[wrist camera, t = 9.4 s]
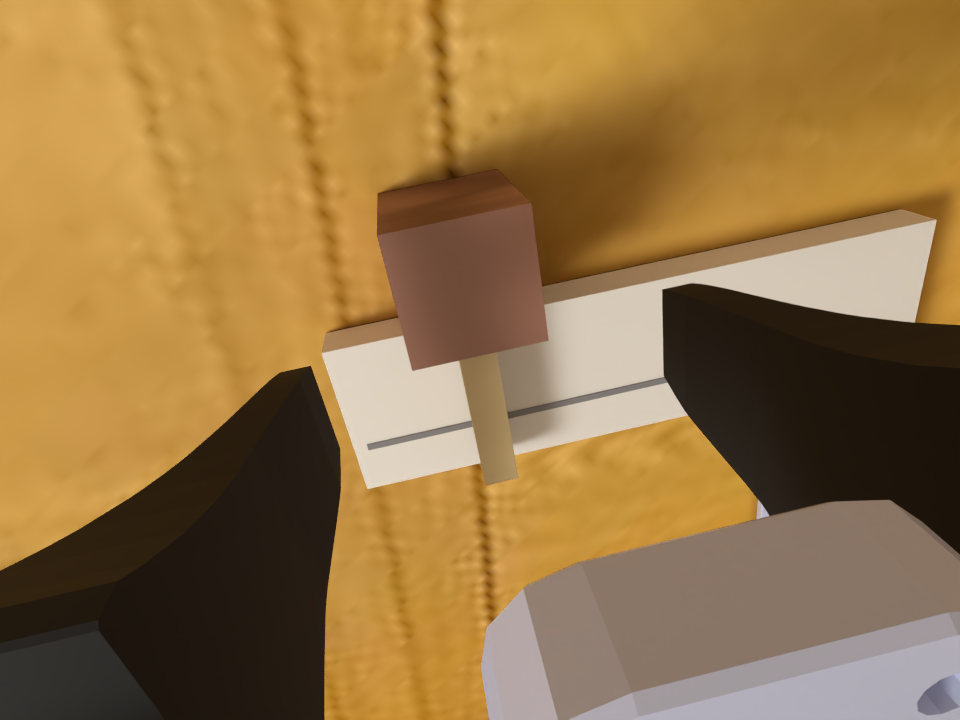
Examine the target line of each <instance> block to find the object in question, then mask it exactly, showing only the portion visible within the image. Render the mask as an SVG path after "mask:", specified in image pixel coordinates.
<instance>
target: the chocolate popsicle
mask: <svg viewBox="0 0 960 720" xmlns="http://www.w3.org/2000/svg"><path fill="white" fill-rule="evenodd" d="M377 237H378V241H379V245H380V249H381V253H382V256H383V260H384V264H385V268H386V272H387V276H388V280H389V283H390V287H391V291H392V295H393V299H394V303H395V306H396V310H397V314H398V318H399V322H400V326H401V329H402V333H403V337H404V341H405V345H406V349H407V353H408V356H409V360H410V364H411V368H412V371H415V370H419V369H424V368H428V367H433V366H437V365H442V364H446V363H451V362H455V361H459V365H460V369H461V374H462V379H463V383H464V388H465V393H466V397H467V402H468V407H469V411H470V416H471V421H472V426H473V430H474V435H475V440H476V444H477V449H478V454H479V458H480V463H481V467H482V471H483V476H484V480H485V484H486V485H491V484H495V483H499V482H503V481H508V480H512V479H516V478H519V477H518V472H517V466H516V460H515V455H514V449H513V443H512V438H511V432H510V426H509V420H508V415H507V409H506V403H505V398H504V392H503V386H502V381H501V375H500V369H499V364H498V358H497V352H500V351H505V350H509V349H514V348H518V347H523V346H527V345H532V344H536V343H541V342H545V341H549V339H548V331H547V323H546V315H545V307H544V299H543V291H542V283H541V275H540V267H539V259H538V251H537V243H536V235H535V227H534V219H533V211H532V203H531V202H530V201H529V200H528V199H527V198H526V197H525V196H524V195H523V194H522V193H521V192H520V191H519V190H518V189H517V188H516V187H515V186H514V185H513V184H512V183H511V182H510V181H509V180H508V179H507V178H506V177H505V176H504V175H503V174H502V173H501V172H500V171H499V170H498V169H495V170H490V171H485V172H481V173H476V174H471V175H466V176H461V177H456V178H451V179H446V180H442V181H437V182H432V183H427V184H422V185H417V186H412V187H407V188H403V189H398V190H393V191H388V192H383V193H378V205H377Z"/></svg>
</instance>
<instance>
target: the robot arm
mask: <svg viewBox="0 0 960 720" xmlns="http://www.w3.org/2000/svg"><path fill="white" fill-rule="evenodd" d="M662 315H663V372H664V377H665V379H666V381H667V382H668V384H669V386H670V388H671V389H672V391H673V393H674V395H675V396H676V398H677V399H678V401H679V403H680V404H681V406H682V407H683V409H684V411H685V412H686V413H687V414H688V416H689V417H690V418H691V419H692V421H693V422H694V423H695V424H696V425H697V427H698V428H699V429H700V430H701V431H702V433H703V434H704V435H705V436H706V437H707V439H708V440H709V441H710V442H711V443H712V445H713V446H714V447H715V448H716V449H717V450H718V452H719V453H720V454H721V455H722V456H723V457H724V459H725V460H726V461H727V462H728V463H729V465H730V466H731V467H732V468H733V469H734V470H735V472H736V473H737V474H738V475H739V476H740V477H741V479H742V480H743V481H744V482H745V483H746V485H747V486H748V487H749V488H750V490H751V491H752V492H753V493H754V495H755V496H756V497H757V499H758V506H757V518H756V519H755V520H751V521H747V522H743V523H739V524H735V525H730V526H726V527H722V528H718V529H714V530H710V531H705V532H701V533H697V534H693V535H689V536H685V537H681V538H676V539H672V540H668V541H664V542H660V543H656V544H651V545H647V546H643V547H639V548H635V549H631V550H627V551H622V552H618V553H614V554H610V555H606V556H602V557H597V558H593V559H589V560H585V561H581V562H577V563H575V564H573V565H571V566H568V567H566V568H564V569H562V570H559V571H557V572H555V573H553V574H550V575H548V576H546V577H544V578H541V579H539V580H537V581H535V582H532V583H530V584H528V585H527V586H526V587H524V588H523V589H522V590H521V591H520V593H519V594H518V595H517V596H516V597H515V598H514V599H513V600H512V601H511V602H510V603H509V604H508V606H507V607H506V608H505V609H504V610H503V611H502V612H501V613H500V614H499V615H498V616H497V617H496V619H495V620H494V621H493V622H492V623H491V624H490V625H489V626H488V627H487V629H486V636H485V643H484V650H483V657H482V664H481V671H482V678H483V684H484V690H485V696H486V702H487V709H488V715H489V720H960V325H945V324H927V323H915V322H903V321H894V320H886V319H878V318H869V317H861V316H855V315H848V314H842V313H836V312H831V311H825V310H820V309H815V308H809V307H804V306H800V305H795V304H790V303H786V302H781V301H777V300H773V299H768V298H764V297H760V296H756V295H751V294H747V293H743V292H739V291H734V290H730V289H726V288H721V287H716V286H711V285H705V284H696V283H689V284H685V285H680V286H676V287H671V288H666V289H662ZM340 491H341V466H340V447H339V444H338V441H337V439H336V436H335V433H334V430H333V427H332V425H331V422H330V419H329V416H328V413H327V410H326V408H325V405H324V402H323V399H322V396H321V393H320V391H319V388H318V385H317V382H316V379H315V377H314V374H313V371H312V368H311V366H308V367H304V368H299V369H294V370H290V371H285V372H281V373H279V374H278V375H276V376H275V377H273V378H272V379H271V380H270V381H269V382H268V383H267V384H265V385H264V386H263V387H262V388H261V389H260V390H259V391H258V392H257V393H256V394H255V395H254V396H253V397H252V398H251V399H250V400H249V401H248V402H247V403H245V404H244V405H243V406H242V407H241V408H240V409H239V410H238V411H237V412H236V413H235V414H234V415H233V416H232V417H231V418H230V419H229V420H228V421H227V422H226V423H224V424H223V425H222V426H221V427H220V428H219V429H218V430H217V431H215V432H214V433H213V434H212V435H211V436H210V437H209V438H207V439H206V440H205V441H204V442H203V443H202V444H201V445H199V446H198V447H197V448H196V449H195V450H194V451H192V452H191V453H190V454H189V455H188V456H187V457H185V458H184V459H183V460H182V461H180V462H179V463H178V464H177V465H175V466H174V467H173V468H171V469H170V470H169V471H167V472H166V473H165V474H163V475H162V476H161V477H159V478H158V479H156V480H155V481H154V482H152V483H151V484H150V485H148V486H147V487H145V488H144V489H143V490H141V491H140V492H138V493H137V494H135V495H134V496H132V497H131V498H129V499H127V500H126V501H124V502H123V503H121V504H119V505H118V506H116V507H115V508H113V509H111V510H110V511H108V512H106V513H105V514H103V515H102V516H100V517H98V518H97V519H95V520H94V521H92V522H90V523H89V524H87V525H86V526H84V527H82V528H81V529H79V530H77V531H75V532H74V533H72V534H70V535H68V536H66V537H64V538H63V539H61V540H59V541H57V542H55V543H54V544H52V545H50V546H48V547H46V548H44V549H42V550H40V551H38V552H36V553H35V554H33V555H31V556H29V557H27V558H25V559H23V560H21V561H19V562H17V563H15V564H13V565H11V566H9V567H7V568H5V569H3V570H1V571H0V720H324V654H325V612H326V599H327V588H328V580H329V573H330V566H331V559H332V551H333V544H334V537H335V530H336V523H337V515H338V508H339V500H340Z"/></svg>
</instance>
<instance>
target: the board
mask: <svg viewBox="0 0 960 720" xmlns="http://www.w3.org/2000/svg"><path fill="white" fill-rule="evenodd" d="M936 221H937V219H933V218H930V217H927V216H923V215H920V214H916V213H913V212H910V211H906V210H903V209H900V210H895V211H890V212H886V213H881V214H876V215H872V216H867V217H862V218H858V219H853V220H849V221H844V222H839V223H835V224H830V225H825V226H821V227H816V228H811V229H807V230H802V231H797V232H793V233H788V234H784V235H779V236H774V237H770V238H765V239H760V240H756V241H751V242H746V243H742V244H737V245H733V246H728V247H723V248H719V249H714V250H709V251H705V252H700V253H695V254H691V255H686V256H682V257H677V258H672V259H668V260H663V261H658V262H654V263H649V264H644V265H640V266H635V267H630V268H626V269H621V270H617V271H612V272H607V273H603V274H598V275H593V276H589V277H584V278H579V279H575V280H570V281H566V282H561V283H556V284H552V285H547V286H542V291H543V299H544V307H545V315H546V323H547V331H548V339H549V341H545V342H541V343H536V344H532V345H527V346H523V347H518V348H514V349H509V350H505V351H500V352H497V358H498V364H499V369H500V375H501V381H502V386H503V392H504V398H505V403H506V409H507V415H508V420H509V426H510V432H511V438H512V443H513V449H514V455H518V454H522V453H526V452H531V451H535V450H539V449H544V448H548V447H552V446H557V445H561V444H565V443H570V442H574V441H578V440H583V439H587V438H591V437H596V436H600V435H604V434H609V433H613V432H618V431H622V430H626V429H631V428H635V427H639V426H644V425H648V424H652V423H657V422H661V421H665V420H670V419H674V418H678V417H683V416H687V415H688V414H687V413H686V412H685V411H684V409H683V407H682V406H681V404H680V403H679V401H678V399H677V398H676V396H675V395H674V393H673V391H672V389H671V388H670V386H669V384H668V382H667V381H666V379H665V377H664V372H663V315H662V289H666V288H671V287H676V286H680V285H685V284H689V283H696V284H705V285H711V286H716V287H721V288H726V289H730V290H734V291H739V292H743V293H747V294H751V295H756V296H760V297H764V298H768V299H773V300H777V301H781V302H786V303H790V304H795V305H800V306H804V307H809V308H815V309H820V310H825V311H831V312H836V313H842V314H848V315H855V316H861V317H869V318H878V319H886V320H894V321H903V322H915V319H916V315H917V310H918V305H919V301H920V296H921V291H922V287H923V282H924V277H925V273H926V268H927V263H928V259H929V254H930V249H931V245H932V240H933V235H934V230H935V226H936ZM322 356H323V359H324V362H325V365H326V368H327V371H328V374H329V377H330V380H331V383H332V386H333V389H334V391H335V394H336V397H337V400H338V403H339V406H340V409H341V412H342V415H343V418H344V421H345V424H346V427H347V430H348V433H349V436H350V438H351V441H352V444H353V447H354V450H355V453H356V456H357V459H358V462H359V465H360V468H361V471H362V474H363V477H364V480H365V483H366V486H367V488H368V489H370V488H374V487H379V486H383V485H387V484H392V483H396V482H400V481H405V480H409V479H413V478H418V477H422V476H426V475H431V474H435V473H439V472H444V471H448V470H452V469H457V468H461V467H466V466H470V465H474V464H479V463H480V458H479V454H478V449H477V444H476V440H475V435H474V430H473V426H472V421H471V416H470V411H469V407H468V402H467V397H466V393H465V388H464V383H463V379H462V374H461V369H460V365H459V361H455V362H451V363H446V364H442V365H437V366H433V367H428V368H424V369H419V370H415V371H412V368H411V364H410V360H409V356H408V353H407V349H406V345H405V341H404V337H403V333H402V329H401V326H400V322H399V318H394V319H389V320H385V321H380V322H375V323H371V324H366V325H361V326H357V327H352V328H348V329H343V330H338V331H334V332H329V333H325V338H324V343H323V348H322Z"/></svg>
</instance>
